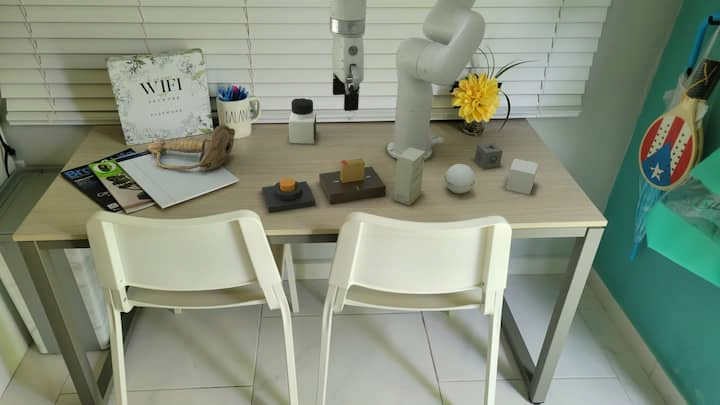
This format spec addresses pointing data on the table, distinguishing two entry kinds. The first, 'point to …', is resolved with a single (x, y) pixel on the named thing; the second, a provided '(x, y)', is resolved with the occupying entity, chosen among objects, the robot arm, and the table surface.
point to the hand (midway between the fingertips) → (344, 102)
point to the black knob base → (288, 197)
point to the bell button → (287, 185)
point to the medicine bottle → (302, 121)
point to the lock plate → (352, 187)
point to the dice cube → (488, 155)
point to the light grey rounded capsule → (460, 178)
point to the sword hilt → (199, 149)
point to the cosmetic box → (409, 175)
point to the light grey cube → (521, 176)
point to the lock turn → (352, 170)
